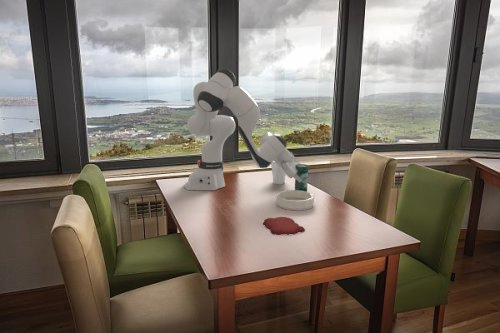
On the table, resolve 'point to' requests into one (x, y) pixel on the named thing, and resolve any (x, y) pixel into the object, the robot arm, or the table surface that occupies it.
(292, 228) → the red flat splat
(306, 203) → the bowl
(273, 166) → the foam cup
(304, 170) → the can
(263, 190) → the table surface
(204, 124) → the robot arm
